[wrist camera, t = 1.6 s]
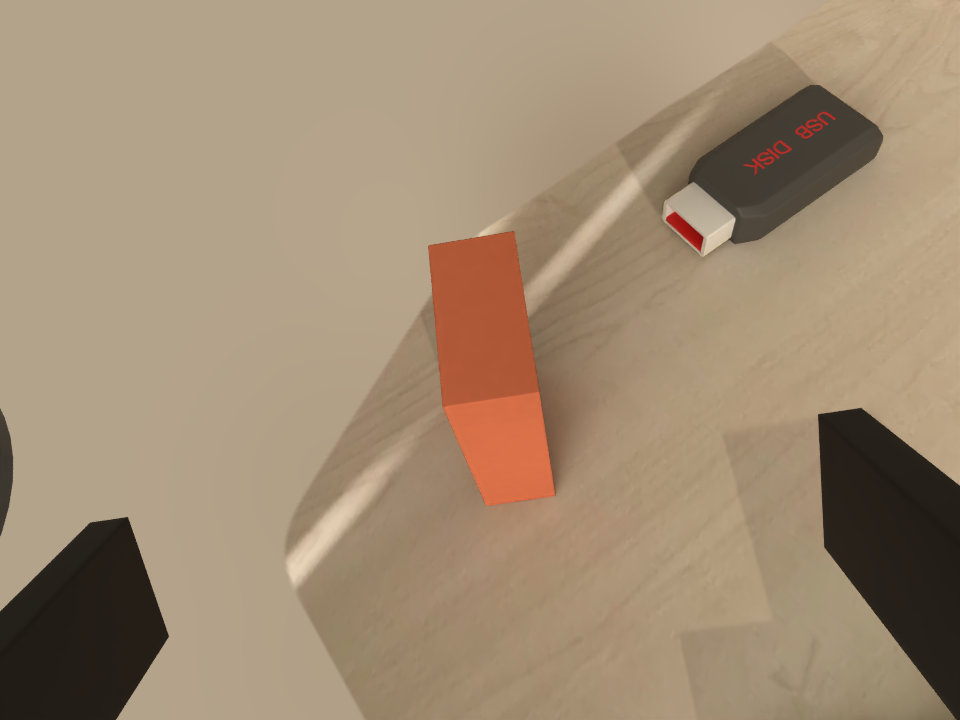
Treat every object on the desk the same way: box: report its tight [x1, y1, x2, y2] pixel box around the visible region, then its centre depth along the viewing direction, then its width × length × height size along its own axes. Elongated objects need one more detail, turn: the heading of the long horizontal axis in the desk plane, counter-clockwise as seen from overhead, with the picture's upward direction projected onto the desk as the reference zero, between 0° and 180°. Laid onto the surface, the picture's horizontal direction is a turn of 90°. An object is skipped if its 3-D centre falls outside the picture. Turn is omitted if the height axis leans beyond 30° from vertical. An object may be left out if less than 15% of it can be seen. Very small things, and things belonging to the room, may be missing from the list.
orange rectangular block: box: [428, 231, 555, 506], centre depth 34 cm, size 3×7×12 cm, turn 6°
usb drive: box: [662, 85, 883, 257], centre depth 42 cm, size 5×12×3 cm, turn 125°
